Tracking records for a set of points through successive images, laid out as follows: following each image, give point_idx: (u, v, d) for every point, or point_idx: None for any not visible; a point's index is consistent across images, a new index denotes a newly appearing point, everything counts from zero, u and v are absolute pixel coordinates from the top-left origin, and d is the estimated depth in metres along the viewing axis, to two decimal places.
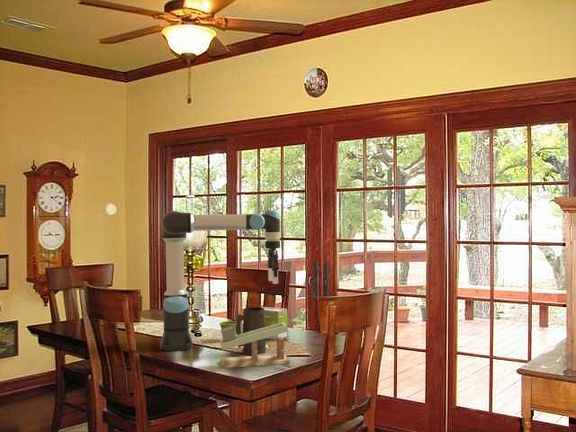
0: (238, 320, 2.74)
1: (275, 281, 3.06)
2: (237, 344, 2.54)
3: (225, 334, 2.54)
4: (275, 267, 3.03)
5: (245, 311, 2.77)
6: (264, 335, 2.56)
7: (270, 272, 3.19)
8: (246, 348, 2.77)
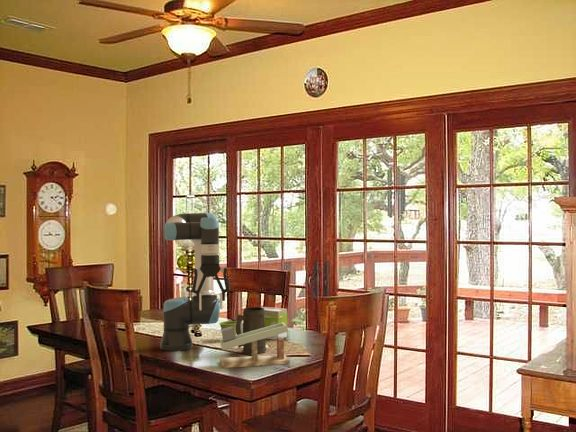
0: (238, 320, 2.74)
1: (199, 307, 2.55)
2: (237, 344, 2.54)
3: (225, 334, 2.54)
4: (192, 289, 2.55)
5: (245, 311, 2.77)
6: (264, 335, 2.56)
7: None
8: (246, 348, 2.77)
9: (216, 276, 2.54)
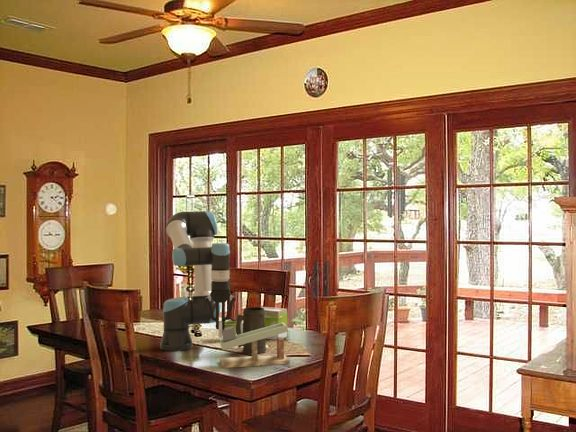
0: (238, 320, 2.74)
1: (218, 334, 2.56)
2: (237, 344, 2.54)
3: (226, 334, 2.54)
4: None
5: (245, 311, 2.77)
6: (264, 335, 2.56)
7: None
8: (246, 348, 2.77)
9: (223, 303, 2.55)
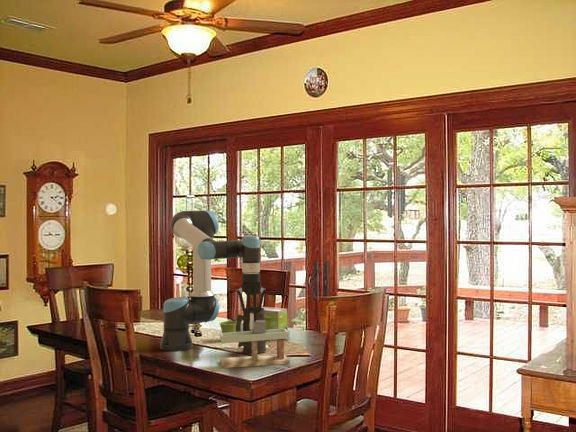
0: (238, 320, 2.74)
1: None
2: (237, 340, 2.53)
3: (257, 326, 2.57)
4: (243, 309, 2.58)
5: None
6: (264, 337, 2.56)
7: None
8: (246, 348, 2.77)
9: (254, 295, 2.57)
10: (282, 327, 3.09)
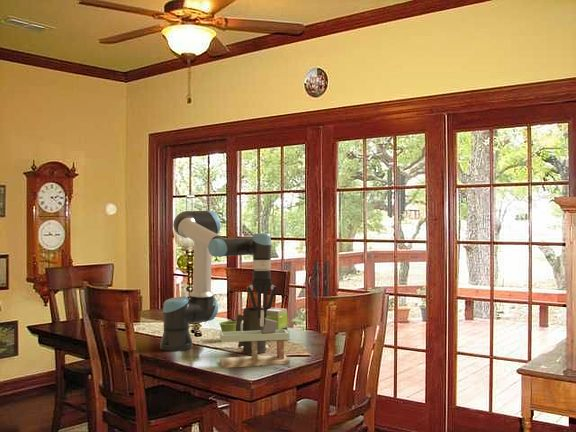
0: (238, 320, 2.74)
1: (260, 323, 2.59)
2: (237, 340, 2.53)
3: (268, 324, 2.57)
4: None
5: (245, 311, 2.77)
6: (265, 337, 2.56)
7: None
8: (246, 348, 2.77)
9: (265, 292, 2.58)
10: (282, 327, 3.09)
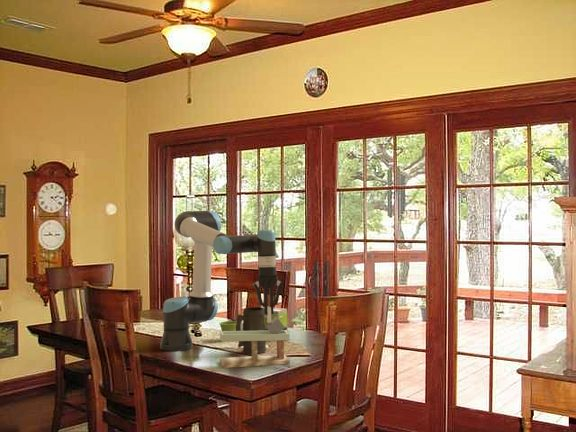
0: (238, 320, 2.74)
1: (267, 319, 2.60)
2: (237, 339, 2.54)
3: (276, 323, 2.58)
4: (260, 302, 2.60)
5: (245, 311, 2.77)
6: (265, 337, 2.56)
7: None
8: (246, 348, 2.77)
9: (271, 288, 2.59)
10: None
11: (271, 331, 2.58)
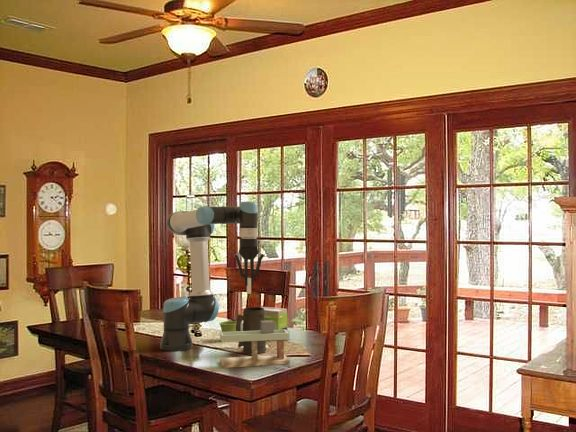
0: (238, 320, 2.74)
1: (247, 290, 2.62)
2: (237, 340, 2.53)
3: (265, 326, 2.57)
4: None
5: (245, 311, 2.77)
6: (265, 337, 2.56)
7: None
8: (246, 348, 2.77)
9: (252, 260, 2.61)
10: (282, 327, 3.09)
11: None
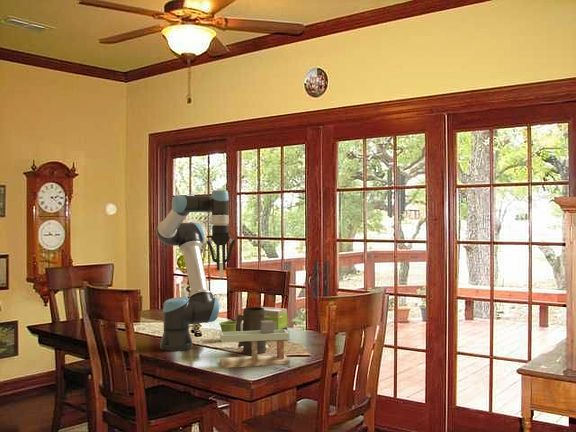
0: (238, 320, 2.74)
1: (219, 275, 2.75)
2: (237, 340, 2.53)
3: (265, 326, 2.57)
4: None
5: (245, 311, 2.77)
6: (265, 337, 2.56)
7: None
8: (246, 348, 2.77)
9: (223, 245, 2.74)
10: (282, 327, 3.09)
11: None
